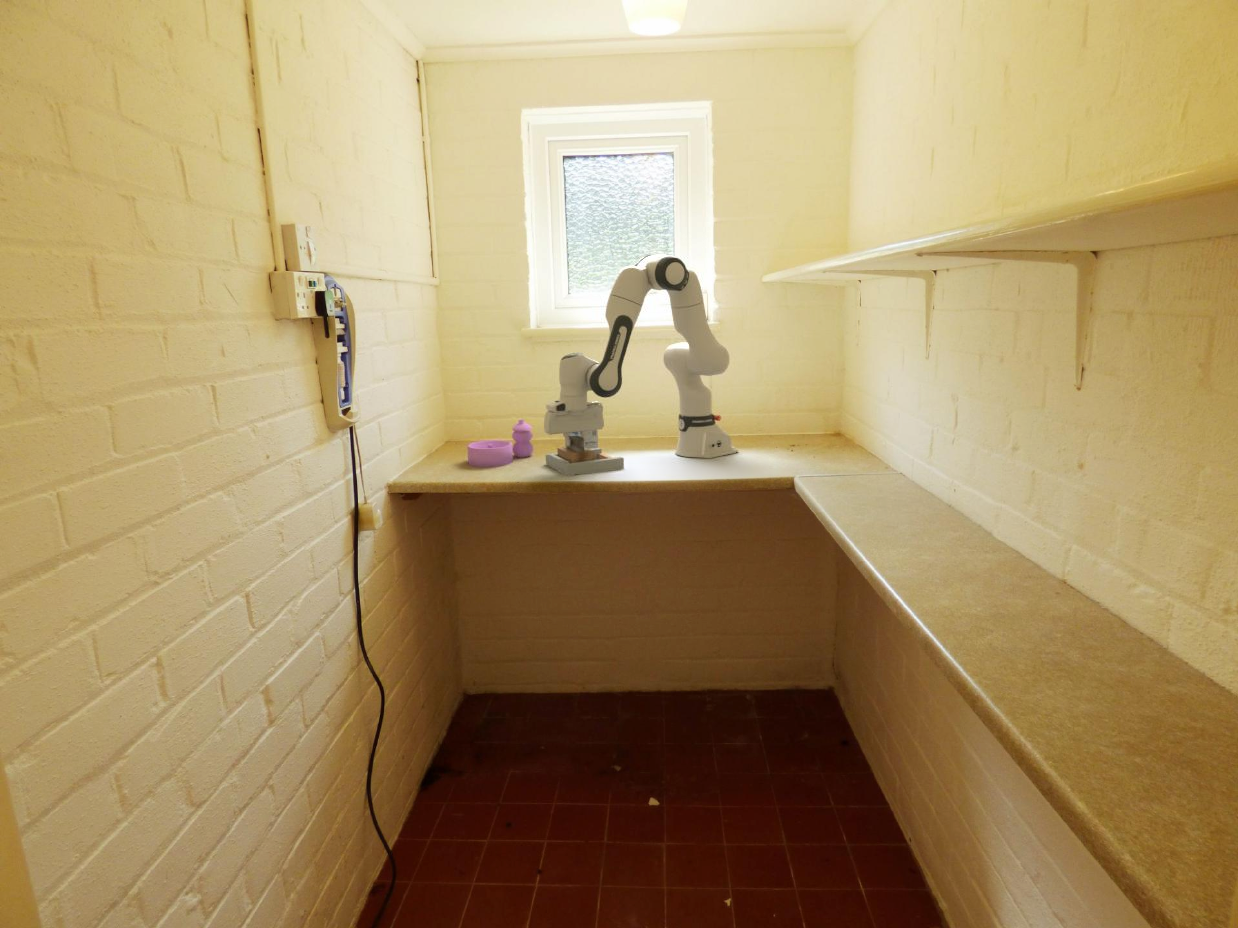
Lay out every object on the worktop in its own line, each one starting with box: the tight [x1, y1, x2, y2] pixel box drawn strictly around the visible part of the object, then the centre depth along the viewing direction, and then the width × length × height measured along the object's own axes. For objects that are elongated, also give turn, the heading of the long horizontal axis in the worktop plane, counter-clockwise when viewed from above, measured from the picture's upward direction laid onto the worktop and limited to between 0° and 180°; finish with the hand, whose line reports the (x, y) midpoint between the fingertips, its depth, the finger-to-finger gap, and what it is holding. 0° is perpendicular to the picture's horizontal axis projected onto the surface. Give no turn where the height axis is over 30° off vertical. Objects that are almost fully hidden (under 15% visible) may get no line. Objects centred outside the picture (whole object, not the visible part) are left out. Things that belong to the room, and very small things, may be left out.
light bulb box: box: [564, 430, 599, 449], centre depth 258 cm, size 11×7×11 cm, turn 115°
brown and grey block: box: [556, 434, 594, 463], centre depth 238 cm, size 8×12×10 cm, turn 27°
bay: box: [545, 447, 625, 477], centre depth 240 cm, size 20×19×4 cm
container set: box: [466, 419, 534, 468], centre depth 252 cm, size 25×15×13 cm, turn 132°
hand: (575, 445), depth 238 cm, fingers closed on brown and grey block, 2 cm apart
